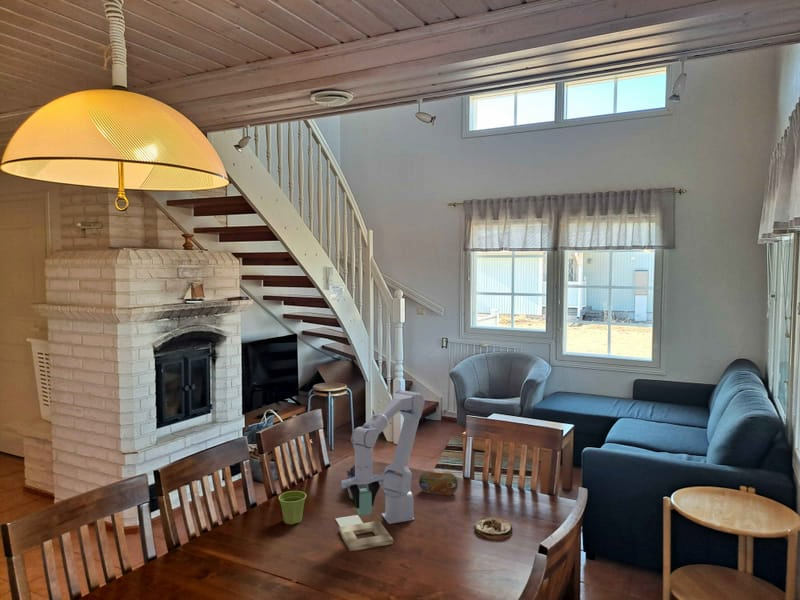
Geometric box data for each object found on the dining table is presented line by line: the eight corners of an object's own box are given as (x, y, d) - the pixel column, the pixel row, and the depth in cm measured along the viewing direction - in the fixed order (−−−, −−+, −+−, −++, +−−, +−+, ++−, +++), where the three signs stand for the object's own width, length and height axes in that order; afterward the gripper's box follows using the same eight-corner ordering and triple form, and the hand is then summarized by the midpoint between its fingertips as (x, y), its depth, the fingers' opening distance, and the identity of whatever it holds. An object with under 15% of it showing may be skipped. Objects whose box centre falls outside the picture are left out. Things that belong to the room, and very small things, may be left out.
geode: (338, 483, 226) (341, 459, 226) (366, 485, 228) (369, 460, 229) (346, 502, 206) (350, 474, 206) (377, 503, 209) (380, 476, 209)
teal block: (368, 508, 183) (368, 487, 182) (371, 513, 179) (371, 492, 179) (356, 510, 181) (356, 489, 181) (359, 515, 178) (359, 494, 177)
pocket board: (379, 524, 189) (379, 520, 189) (393, 543, 176) (393, 539, 176) (338, 531, 184) (338, 527, 184) (350, 551, 171) (350, 546, 171)
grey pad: (357, 516, 195) (357, 514, 195) (364, 525, 188) (364, 524, 188) (335, 519, 193) (335, 518, 193) (341, 529, 185) (341, 528, 185)
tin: (418, 492, 217) (418, 471, 216) (420, 489, 220) (420, 468, 219) (457, 497, 212) (457, 475, 212) (458, 493, 215) (458, 472, 215)
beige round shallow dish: (522, 528, 187) (522, 516, 187) (506, 547, 174) (506, 534, 174) (481, 518, 195) (481, 506, 194) (463, 535, 182) (463, 523, 182)
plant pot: (300, 528, 186) (300, 502, 186) (274, 525, 188) (274, 500, 188) (310, 516, 195) (310, 492, 195) (285, 513, 197) (285, 489, 197)
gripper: (380, 458, 186) (380, 497, 187) (338, 463, 180) (338, 504, 181) (388, 464, 179) (388, 506, 180) (345, 471, 174) (345, 513, 175)
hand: (364, 506), depth 180 cm, fingers closed on teal block, 4 cm apart
